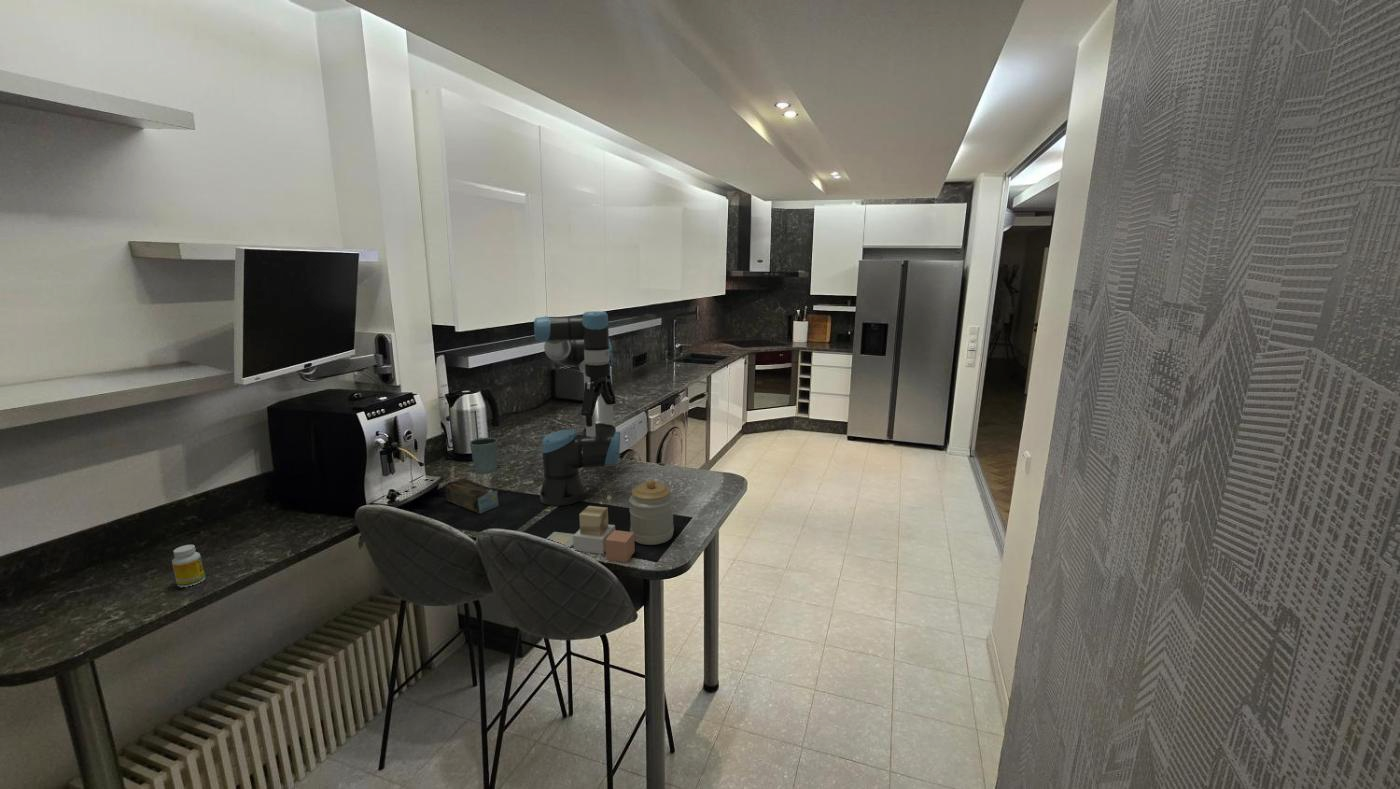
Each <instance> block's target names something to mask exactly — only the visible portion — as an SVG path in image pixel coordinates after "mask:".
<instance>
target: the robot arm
mask: <svg viewBox="0 0 1400 789" xmlns="http://www.w3.org/2000/svg"><path fill="white" fill-rule="evenodd" d="M533 324H534V325H533V329H534V330H533V331H534V338H535V340H536V341H537V342H544V346H543V348H544V353H545V355H546V357H547V358H548V359H550V361H551V362H552V361H553V363H557V364H558V365H560V366H561V365H562V366H564V367H565V366H567V367H578V368H579V370H580V372H581V373H582V374H583V387H584V391H583V392H584V393H583V394H584V395H583V399H582V406H581V413H580V414H581V416H583V417H585V427H584V428H583V429H582V433H581V434H578V433H577V431H576V430H574V429H560V430H557V431H554V432H551V433H549V434H547V435H545V436H544V437H543V438H542V441H541V446H542V447H541V448H542V449H541V453H542V461H543V462H542V464H543V465H542V466H543V481H542V485H541V487H540V492H539V493H540V494H539V497H540V502H541V503H542V504H544V505H547V506H553V507H554V506H555V507H560V506H561V507H562V506H568V505H572V504H576V503H579V502H580V501H582V500H583V499H584V498H585V495H586V491H585V487H584V485H583V482H582V479H581V478H580V475H579V469H586V468H587V469H588V468H598V467H599V468H600V467H605V468H607V467H609V466H616V465H618V463H619V462H620V448H621V446H620V445H621V432H620V431H617V429H616V426H615V425H614V409H613V408H614V405H616V404H617V401H616V394H615V390H614V388H613V387H614V386H613V383H612V378H611V365H613V364H614V353H613V347H612V343H611V340H610V334H609V332H610V331H609V324H610V323H609V315H608V313H607V312H606V311H599V310H598V311H594V310H593V311H585V312H584V313H582V315H580V316H579V315H577V316H571V315H570V316H540V317H538V316H537V317H536V318H535V319H534V320H533Z"/></svg>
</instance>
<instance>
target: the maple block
mask: <svg viewBox="0 0 1400 789" xmlns="http://www.w3.org/2000/svg"><path fill="white" fill-rule="evenodd" d="M608 510H609V509H608V507H603V506H594V505H588V506H587V507H585V508H584V509H583V510H582V511H581V512H580V513H579V516H578V517H579V529H580V534H585V535H593V536H601V535H602V534H603V532H604V531H605V530H606V529H607V528H608V524H609V511H608Z"/></svg>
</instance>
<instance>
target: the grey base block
mask: <svg viewBox="0 0 1400 789" xmlns="http://www.w3.org/2000/svg"><path fill="white" fill-rule="evenodd" d="M614 530H616V525H615V524H609V523H608V528H607V529H606V530H605V531H604V532H603V534H602V535H601V536H593V535H585V534H580V528H579V529H578V530H577V531H576V532H575V533H573V534H574V535H573V550H574V549H576V550H578V551H577V552H584V553H591V554H599V555H600V554H601V555H604V554H606V541H605V540H606V539H607V537H608V536H609V535H610V534H611V533H612V532H613V531H614Z"/></svg>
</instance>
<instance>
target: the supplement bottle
mask: <svg viewBox="0 0 1400 789" xmlns="http://www.w3.org/2000/svg"><path fill="white" fill-rule="evenodd" d="M172 552H173V556H174V558H173V559H172V561H171V564H172V569H173V573H174V577H175V581H176V582H175V583H176V585H177V587H178V586H179V587H178V588H183V587H185V588H189V587H188V586H191V587H193V586H192V585H194V586H196V584H197V585H199V584H201V583H203V582H204V581H205V580H206V573H205V570H204V565H203V561H202V556H201V553H200V552H197V551H196V546H195V545H194V544H185V545H180V546H179V547H177V548H175V549H174V550H173V551H172ZM200 582H201V583H200ZM198 583H199V584H198Z"/></svg>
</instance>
